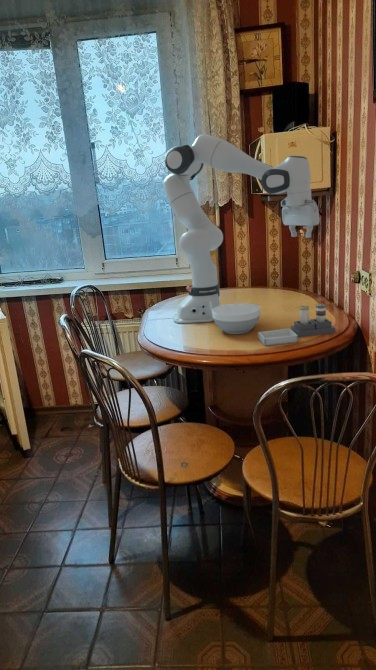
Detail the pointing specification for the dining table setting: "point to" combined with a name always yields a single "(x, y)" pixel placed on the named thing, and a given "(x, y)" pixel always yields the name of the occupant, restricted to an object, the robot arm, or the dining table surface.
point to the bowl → (236, 317)
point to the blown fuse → (320, 313)
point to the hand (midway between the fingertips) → (301, 237)
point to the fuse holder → (313, 328)
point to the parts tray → (277, 337)
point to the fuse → (304, 315)
